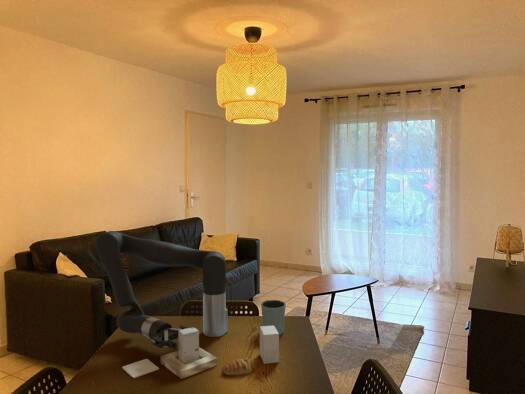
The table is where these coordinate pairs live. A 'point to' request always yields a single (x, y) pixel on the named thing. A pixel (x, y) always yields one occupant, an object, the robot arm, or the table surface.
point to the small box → (269, 344)
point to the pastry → (237, 367)
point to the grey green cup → (273, 314)
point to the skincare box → (188, 345)
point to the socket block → (191, 368)
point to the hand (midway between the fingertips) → (185, 341)
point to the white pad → (140, 368)
